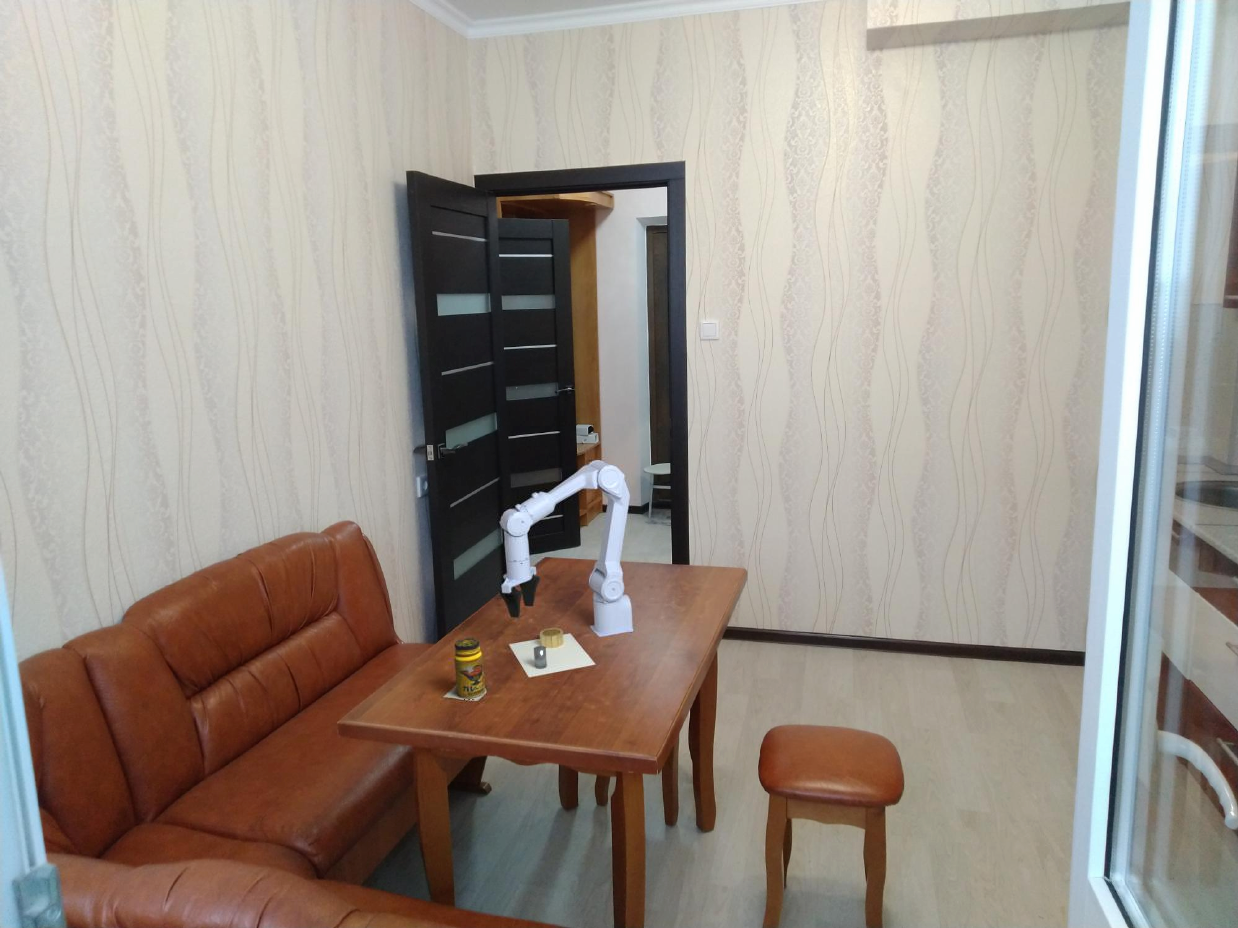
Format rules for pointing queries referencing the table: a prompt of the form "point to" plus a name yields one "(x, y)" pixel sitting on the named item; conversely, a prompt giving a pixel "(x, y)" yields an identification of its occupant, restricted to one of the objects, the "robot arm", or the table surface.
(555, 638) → the ring
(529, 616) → the table surface
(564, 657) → the mat
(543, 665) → the piston
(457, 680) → the condiment
